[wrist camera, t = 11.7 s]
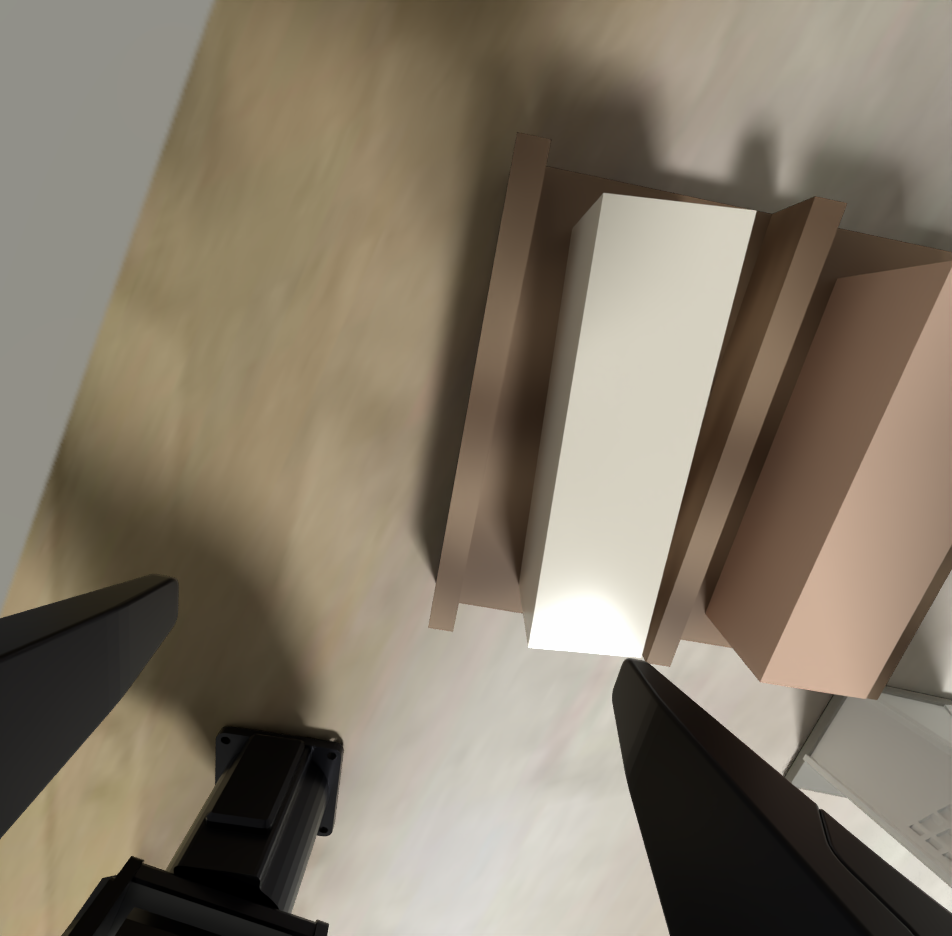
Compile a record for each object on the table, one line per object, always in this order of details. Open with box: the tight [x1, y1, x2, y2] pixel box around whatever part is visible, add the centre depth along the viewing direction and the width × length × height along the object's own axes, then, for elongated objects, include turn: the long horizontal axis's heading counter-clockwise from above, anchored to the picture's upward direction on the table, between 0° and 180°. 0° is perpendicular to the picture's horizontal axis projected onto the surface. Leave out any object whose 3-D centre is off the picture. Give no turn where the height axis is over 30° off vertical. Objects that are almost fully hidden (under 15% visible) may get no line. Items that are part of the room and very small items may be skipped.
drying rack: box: [428, 132, 952, 700], centre depth 17 cm, size 17×19×3 cm
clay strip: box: [519, 193, 756, 658], centre depth 15 cm, size 14×4×4 cm, turn 174°
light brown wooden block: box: [705, 261, 952, 699], centre depth 16 cm, size 14×4×4 cm, turn 170°
